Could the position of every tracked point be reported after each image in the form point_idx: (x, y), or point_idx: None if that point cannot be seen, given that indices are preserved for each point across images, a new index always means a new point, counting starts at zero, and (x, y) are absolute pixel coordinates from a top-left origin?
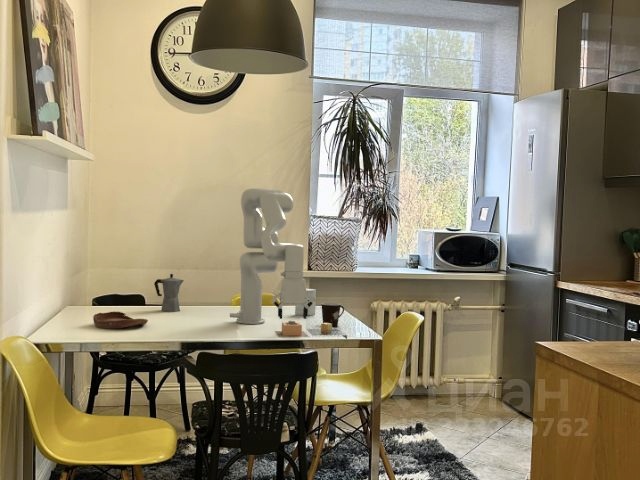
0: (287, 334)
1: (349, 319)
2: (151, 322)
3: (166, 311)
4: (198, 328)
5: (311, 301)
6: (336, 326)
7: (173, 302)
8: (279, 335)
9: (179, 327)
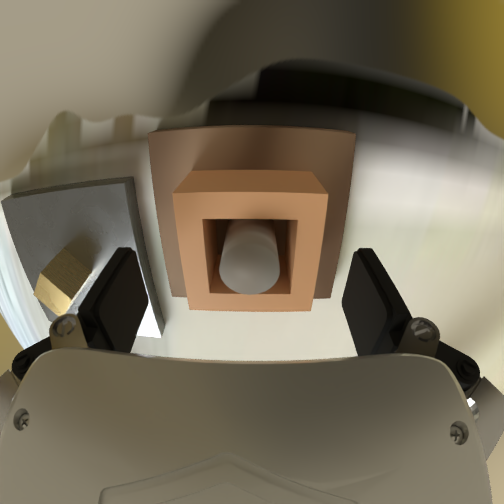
0: (288, 172)
1: None
2: (499, 376)
3: None
4: (482, 350)
5: (14, 381)
6: None
7: None
8: (341, 170)
9: (500, 350)
